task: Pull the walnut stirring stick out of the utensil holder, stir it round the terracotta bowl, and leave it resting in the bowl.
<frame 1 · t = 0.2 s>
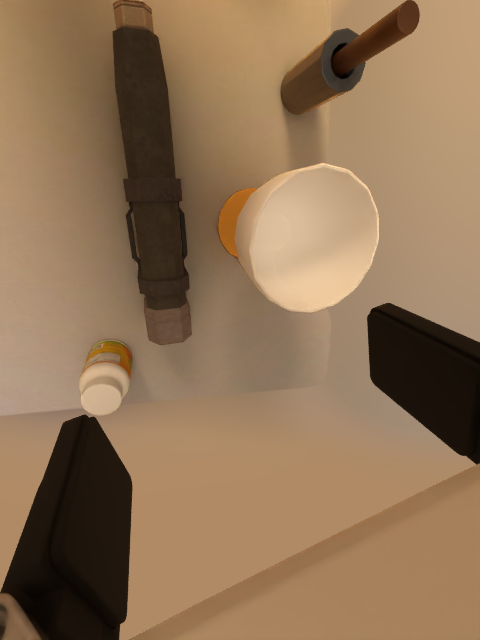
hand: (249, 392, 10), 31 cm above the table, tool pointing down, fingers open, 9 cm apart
supplement bottle: (110, 355, 41), on the table
stick: (340, 63, 27), in the holder
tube: (152, 200, 35), on the table
holder: (298, 91, 35), on the table
cup: (250, 225, 39), on the table
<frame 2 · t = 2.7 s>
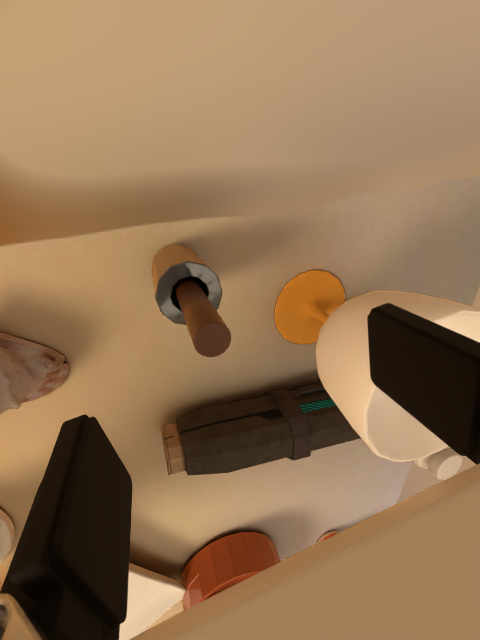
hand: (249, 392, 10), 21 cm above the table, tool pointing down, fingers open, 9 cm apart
supplement bottle: (391, 417, 47), on the table
salad plate: (75, 593, 40), on the table, touching bowl
stick: (189, 292, 21), in the holder
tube: (278, 398, 39), on the table
holder: (176, 268, 29), on the table
bowl: (229, 563, 48), on the table
cup: (309, 307, 35), on the table
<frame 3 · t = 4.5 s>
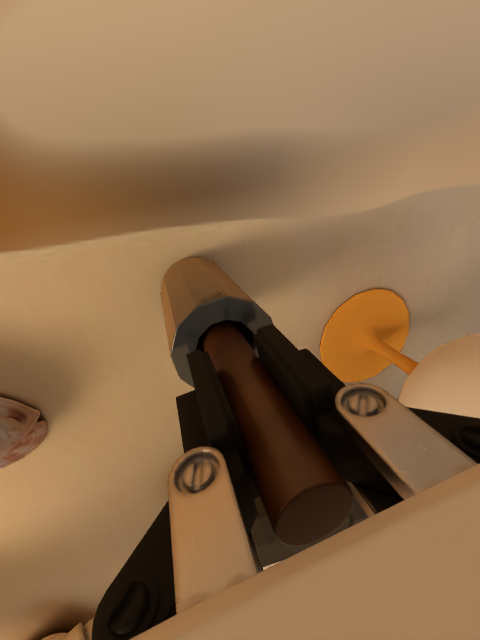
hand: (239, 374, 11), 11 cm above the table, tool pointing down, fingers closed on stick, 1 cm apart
stick: (223, 343, 13), in the holder, touching gripper
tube: (317, 446, 31), on the table
holder: (194, 289, 21), on the table
cup: (363, 336, 27), on the table
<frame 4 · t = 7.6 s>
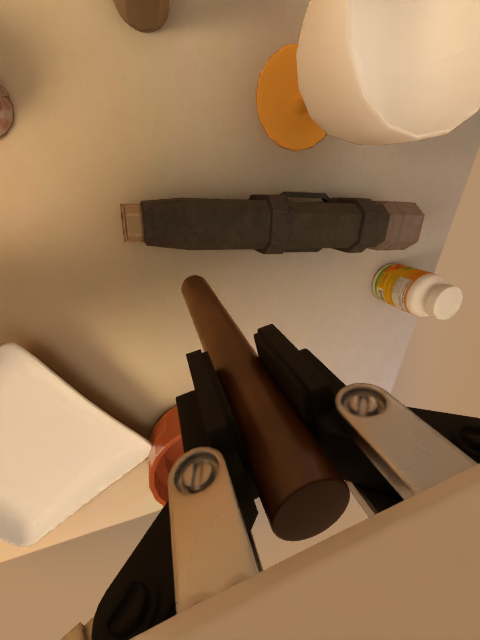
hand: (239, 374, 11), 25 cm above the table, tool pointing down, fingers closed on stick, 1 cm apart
supplement bottle: (386, 281, 43), on the table
salad plate: (28, 438, 36), on the table, touching bowl
stick: (222, 340, 13), point 22 cm above the table, touching gripper
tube: (261, 221, 35), on the table
bowl: (203, 436, 44), on the table
cup: (296, 101, 31), on the table
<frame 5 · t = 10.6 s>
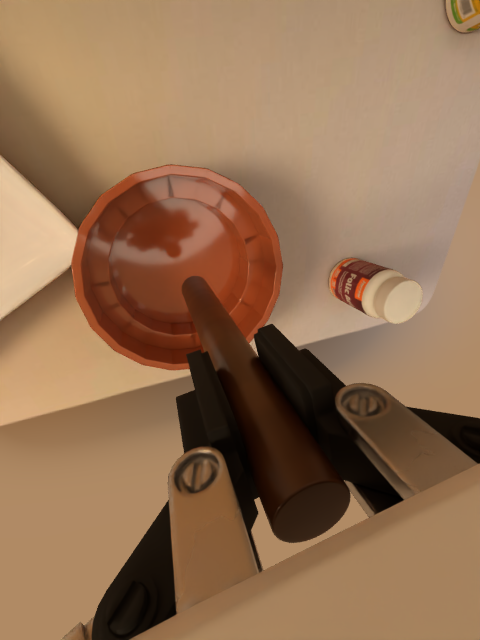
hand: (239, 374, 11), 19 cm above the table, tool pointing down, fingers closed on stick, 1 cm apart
stick: (222, 341, 13), point 16 cm above the table, touching gripper
pill bottle: (345, 278, 34), on the table
bowl: (178, 263, 28), on the table
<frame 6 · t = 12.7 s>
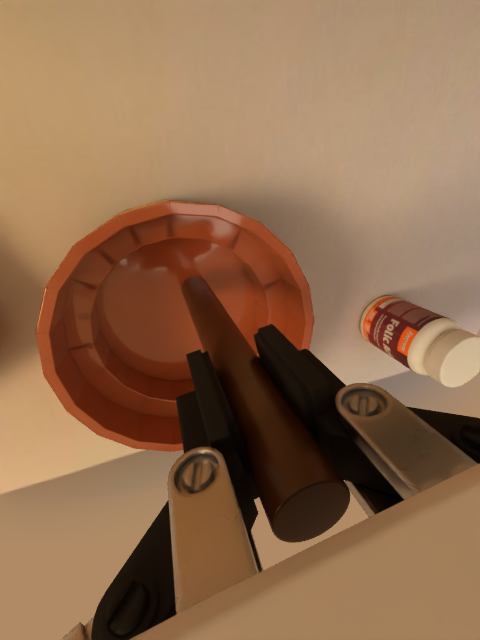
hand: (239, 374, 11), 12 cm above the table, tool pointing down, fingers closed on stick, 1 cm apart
stick: (222, 341, 13), point 10 cm above the table, touching gripper
pill bottle: (378, 318, 28), on the table
bowl: (181, 310, 22), on the table
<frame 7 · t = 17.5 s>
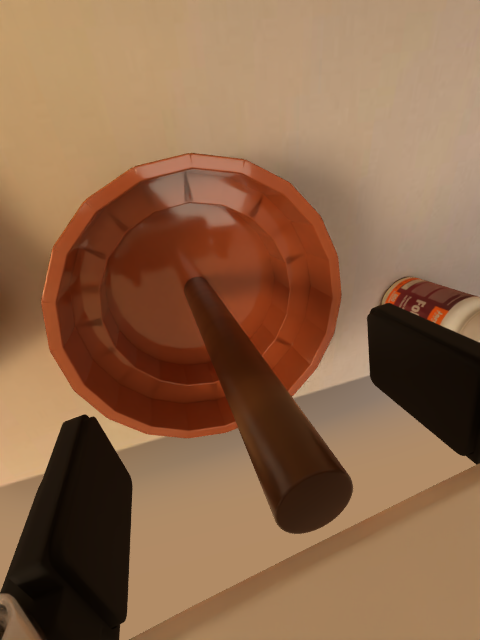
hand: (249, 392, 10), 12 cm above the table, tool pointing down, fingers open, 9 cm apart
stick: (225, 339, 13), in the bowl, point 9 cm above the table
pill bottle: (399, 301, 27), on the table
bowl: (194, 288, 21), on the table
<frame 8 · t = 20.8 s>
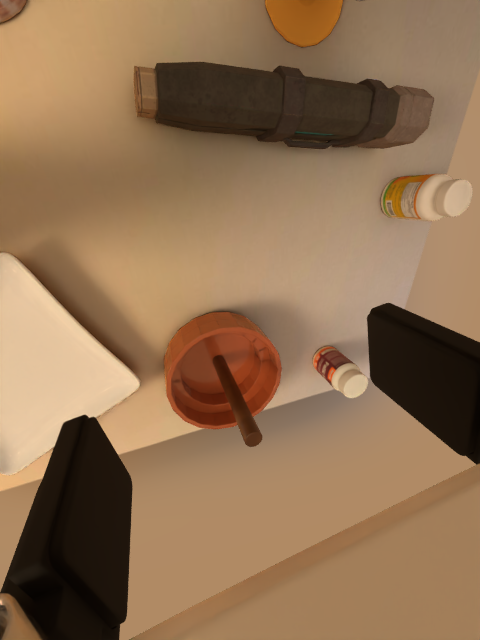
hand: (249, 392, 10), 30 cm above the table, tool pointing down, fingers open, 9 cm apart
supplement bottle: (394, 197, 43), on the table
salad plate: (18, 364, 37), on the table
stick: (232, 392, 37), in the bowl, point 9 cm above the table
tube: (270, 119, 35), on the table
pill bottle: (324, 357, 50), on the table
bowl: (217, 359, 44), on the table
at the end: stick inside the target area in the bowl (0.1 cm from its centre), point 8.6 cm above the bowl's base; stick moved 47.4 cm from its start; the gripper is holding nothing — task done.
